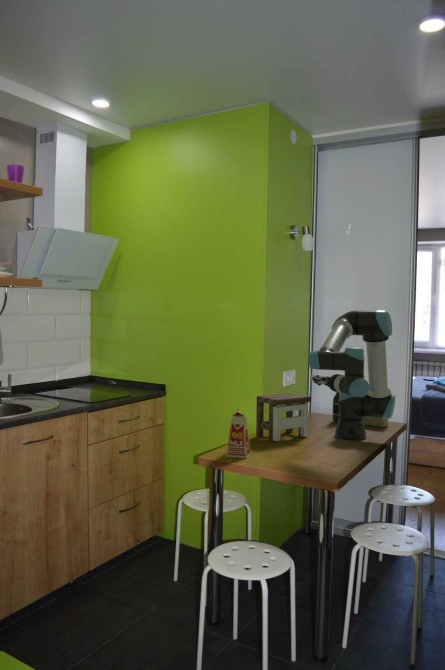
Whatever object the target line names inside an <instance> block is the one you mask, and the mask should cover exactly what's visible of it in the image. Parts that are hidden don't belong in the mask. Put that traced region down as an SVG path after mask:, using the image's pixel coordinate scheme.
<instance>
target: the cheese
mask: <svg viewBox="0 0 445 670" xmlns="http://www.w3.org/2000/svg"><path fill="white" fill-rule="evenodd" d="M363 424H367V425H366V426H369V425H373V426H372V427H376V426H379V427H378V428H385V426H386V427H387V426H389V419H381V418H371V417H363Z"/></svg>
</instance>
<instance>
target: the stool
mask: <svg viewBox="0 0 445 670" xmlns="http://www.w3.org/2000/svg"><path fill="white" fill-rule="evenodd" d="M311 402H312V396H309V395H305V394H298V393H294V392H293V393H292V392H287V393H286V392H285V393H277V394H266V395H265V394H264V395H257V396H256V410H255V411H256V412H255V413H256V416H255V417H256V418H255V420H256V423H255V425H256V426H255V427H256V429H255V431H256V433H255V435H256V438H264V430H267V431H268V441H269V442H274V441H273V407H275V406H284V405H292V404H295V403H299V404H301V403H306V404H307V403H311ZM265 404H267V405H268V420H264V413H265V412H264V410H265ZM300 414H301V410H299V416H300ZM287 417H293V411H286V412H285V418H287ZM293 430H294V428H291V429H285V433H286V434H287V433H288V434H293V432H294V431H293ZM298 436H300V427H298ZM300 437H301V436H300Z"/></svg>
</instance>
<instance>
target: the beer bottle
mask: <svg viewBox="0 0 445 670" xmlns="http://www.w3.org/2000/svg"><path fill="white" fill-rule="evenodd" d="M339 394H340V393H338V392H335V395H334V396H333V399H332V422H333V421H334V422H338V421H339ZM334 422H333V423H334Z"/></svg>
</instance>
